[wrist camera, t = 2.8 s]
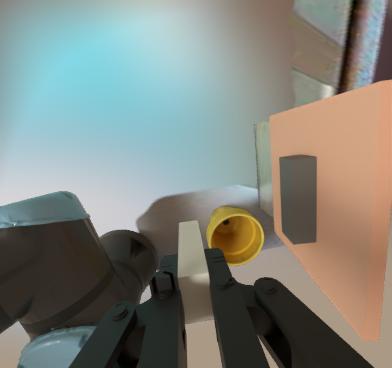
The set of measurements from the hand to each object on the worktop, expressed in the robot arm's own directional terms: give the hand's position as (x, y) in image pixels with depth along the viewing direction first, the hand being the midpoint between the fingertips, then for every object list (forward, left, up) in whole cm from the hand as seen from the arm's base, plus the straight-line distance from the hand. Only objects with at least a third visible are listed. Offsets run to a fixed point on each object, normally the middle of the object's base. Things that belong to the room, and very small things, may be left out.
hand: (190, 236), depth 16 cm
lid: (+14, 0, -6) cm, 16 cm away
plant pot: (+8, -11, -27) cm, 30 cm away
